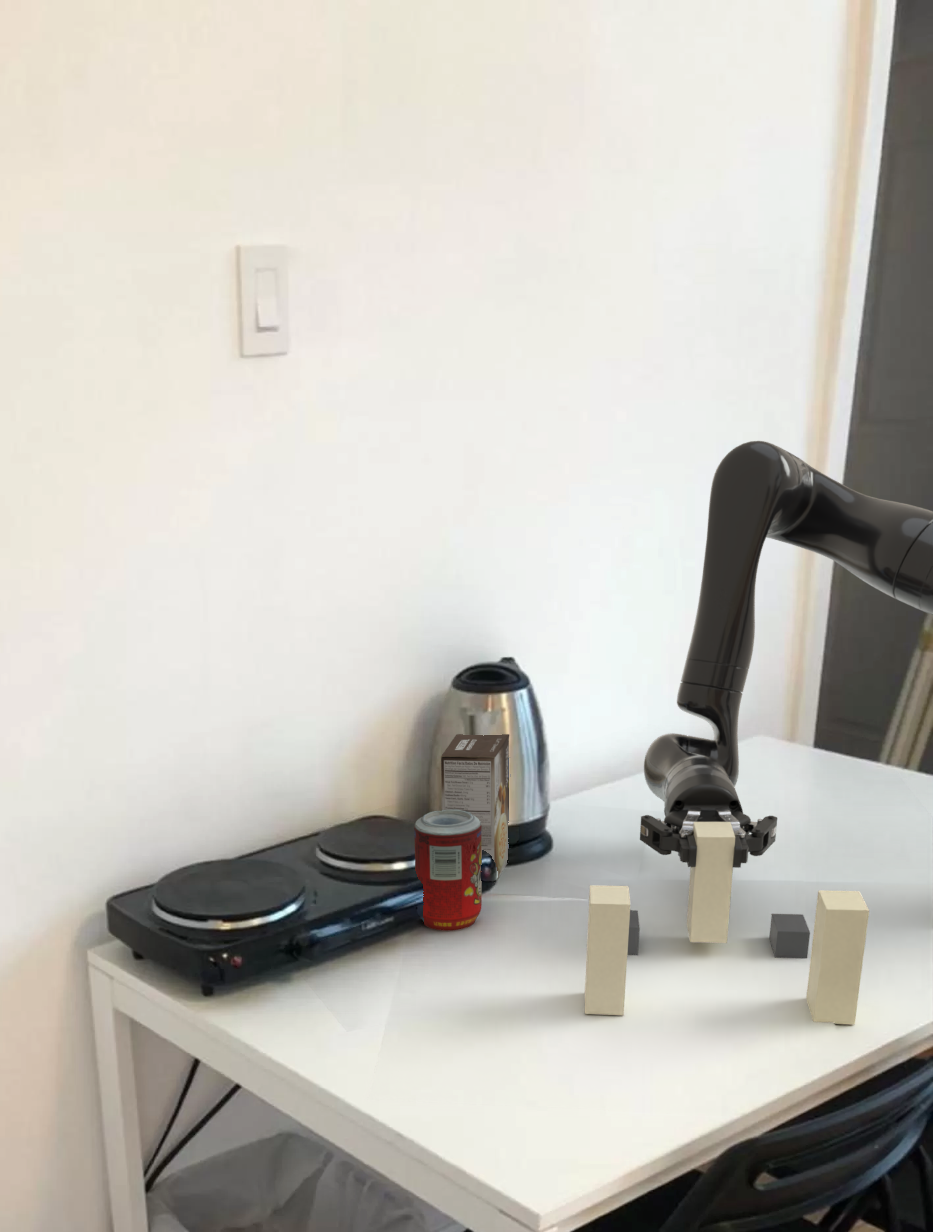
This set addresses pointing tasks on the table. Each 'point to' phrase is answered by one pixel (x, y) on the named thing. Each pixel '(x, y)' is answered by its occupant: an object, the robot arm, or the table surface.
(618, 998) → the cream rectangular block
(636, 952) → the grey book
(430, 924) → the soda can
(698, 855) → the tall beige block
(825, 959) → the beige tall block
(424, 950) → the table surface
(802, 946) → the charcoal foam cube
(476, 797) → the coffee box
